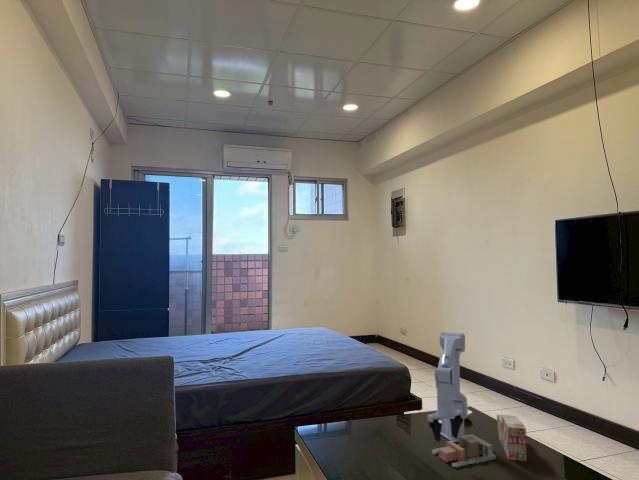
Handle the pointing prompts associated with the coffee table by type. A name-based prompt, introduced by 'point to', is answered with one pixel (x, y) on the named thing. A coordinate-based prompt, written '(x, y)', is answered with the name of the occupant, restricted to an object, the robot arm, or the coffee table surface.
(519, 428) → the stack of blocks
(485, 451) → the pale grey flat frame
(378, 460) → the coffee table surface
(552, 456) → the coffee table surface
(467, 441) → the block
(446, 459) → the block
